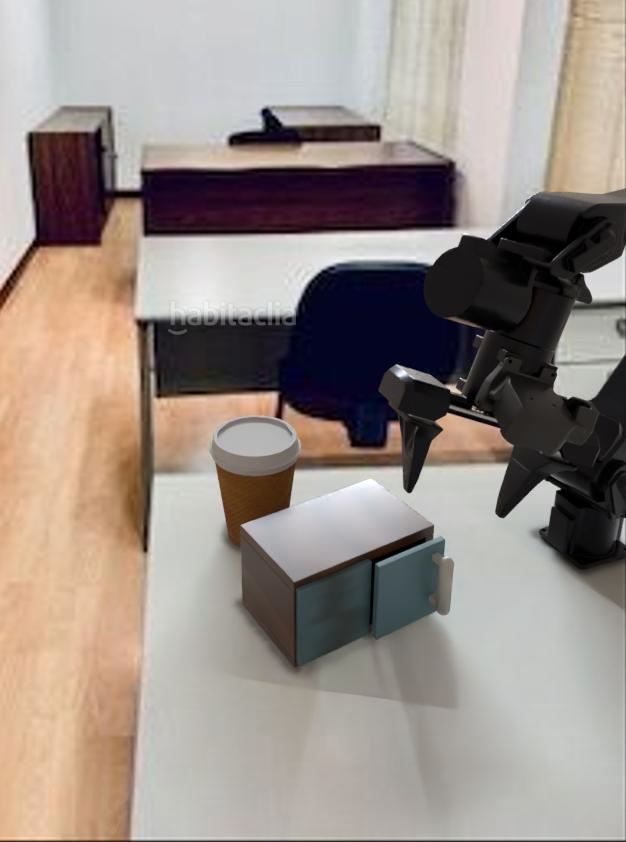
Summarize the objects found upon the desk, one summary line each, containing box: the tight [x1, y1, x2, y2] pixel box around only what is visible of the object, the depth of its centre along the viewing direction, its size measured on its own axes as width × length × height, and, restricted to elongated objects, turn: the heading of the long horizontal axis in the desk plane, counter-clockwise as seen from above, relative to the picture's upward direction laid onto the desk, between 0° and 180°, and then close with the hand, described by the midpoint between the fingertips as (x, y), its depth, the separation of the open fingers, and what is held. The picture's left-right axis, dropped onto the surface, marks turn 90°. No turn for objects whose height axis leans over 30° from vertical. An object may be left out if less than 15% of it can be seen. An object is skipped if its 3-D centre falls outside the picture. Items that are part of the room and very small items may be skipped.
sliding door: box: [371, 535, 455, 641], centre depth 66 cm, size 7×3×8 cm, turn 119°
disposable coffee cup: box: [208, 414, 302, 548], centre depth 80 cm, size 10×10×12 cm
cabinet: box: [240, 478, 435, 669], centre depth 70 cm, size 15×10×9 cm, turn 119°
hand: (453, 503), depth 67 cm, fingers open, 9 cm apart
